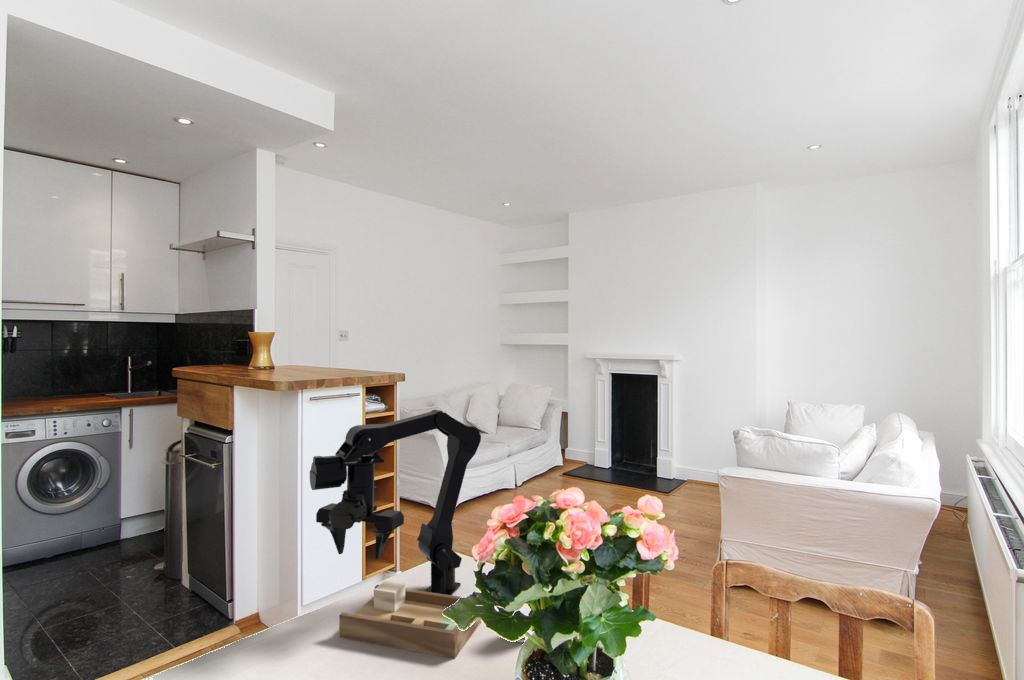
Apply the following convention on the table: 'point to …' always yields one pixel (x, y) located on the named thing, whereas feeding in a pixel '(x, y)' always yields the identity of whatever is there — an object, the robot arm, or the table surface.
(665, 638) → the table surface
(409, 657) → the table surface
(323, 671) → the table surface
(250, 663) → the table surface
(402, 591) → the block
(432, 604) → the box
